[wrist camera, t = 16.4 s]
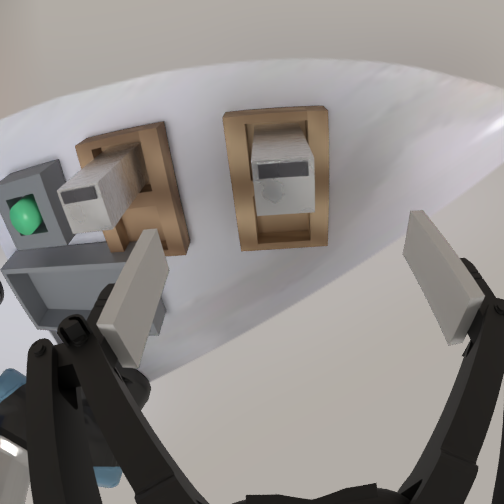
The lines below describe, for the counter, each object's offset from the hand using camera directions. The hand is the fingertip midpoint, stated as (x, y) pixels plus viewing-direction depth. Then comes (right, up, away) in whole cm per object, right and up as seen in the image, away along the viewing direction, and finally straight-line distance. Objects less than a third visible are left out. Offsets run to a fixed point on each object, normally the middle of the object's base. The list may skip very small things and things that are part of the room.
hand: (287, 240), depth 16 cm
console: (-27, +6, +17) cm, 33 cm away
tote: (-25, -5, +25) cm, 35 cm away
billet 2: (+1, +9, +13) cm, 16 cm away
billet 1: (-14, +8, +14) cm, 22 cm away
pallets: (-6, +6, +16) cm, 18 cm away
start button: (-28, +5, +15) cm, 32 cm away
